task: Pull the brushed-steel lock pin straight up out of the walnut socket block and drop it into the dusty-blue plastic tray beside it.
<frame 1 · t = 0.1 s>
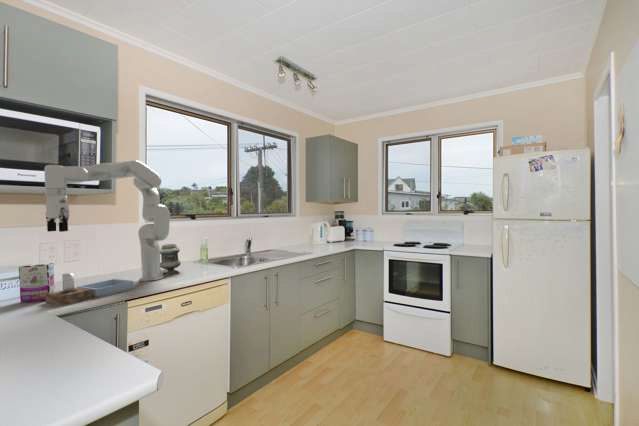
hand: (57, 231, 144), 31 cm above the counter, tool pointing down, fingers open, 9 cm apart
lock pin: (68, 287, 143), in the socket block
stone urn: (170, 273, 201), on the counter
socket block: (69, 300, 143), on the counter
tray: (106, 291, 158), on the counter
candy bar box: (38, 300, 145), on the counter
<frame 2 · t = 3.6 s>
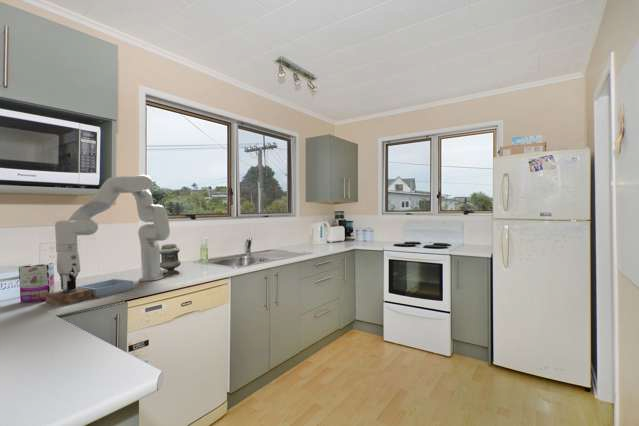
hand: (68, 288, 143), 5 cm above the counter, tool pointing down, fingers closed on lock pin, 4 cm apart
lock pin: (68, 287, 143), in the socket block, touching gripper
everything else where it was.
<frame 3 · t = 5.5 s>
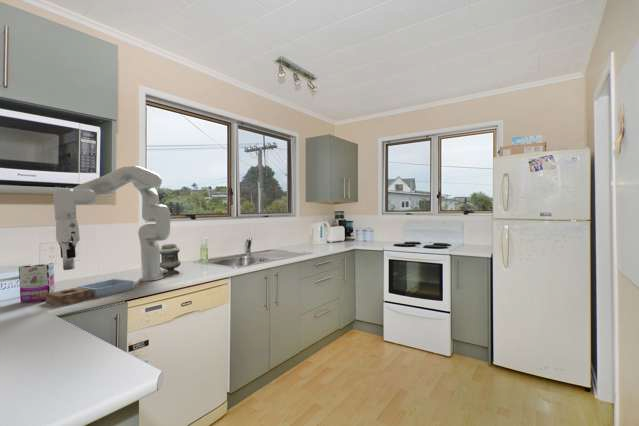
hand: (68, 257, 143), 19 cm above the counter, tool pointing down, fingers closed on lock pin, 4 cm apart
lock pin: (68, 255, 143), point 20 cm above the counter, touching gripper
everything else where it was.
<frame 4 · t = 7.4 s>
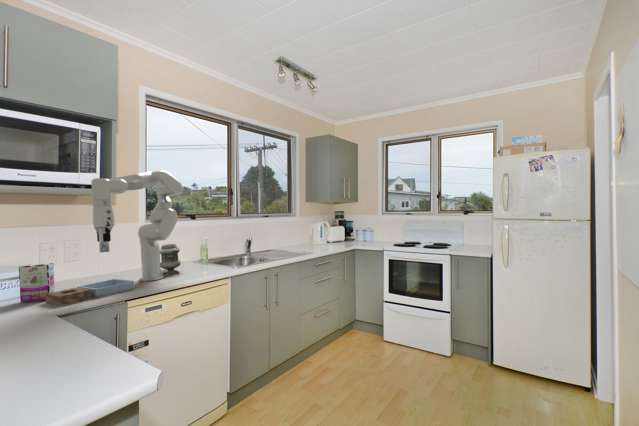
hand: (104, 241, 157), 25 cm above the counter, tool pointing down, fingers closed on lock pin, 4 cm apart
lock pin: (103, 239, 157), point 26 cm above the counter, touching gripper
everything else where it was.
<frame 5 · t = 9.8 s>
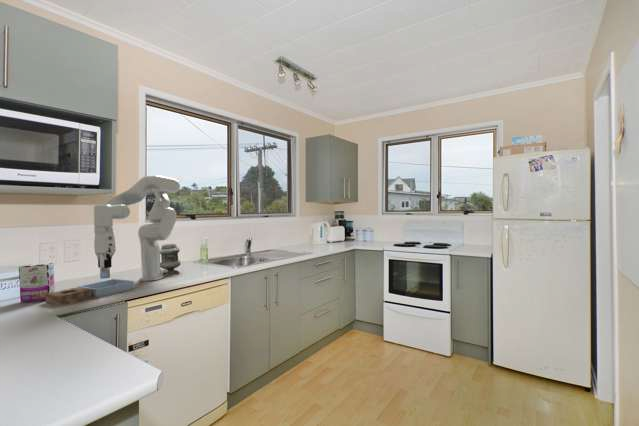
hand: (104, 267, 157), 12 cm above the counter, tool pointing down, fingers closed on lock pin, 4 cm apart
lock pin: (104, 265, 157), point 13 cm above the counter, touching gripper
everything else where it was.
when the fingers open (8 cm above the counter, at t = 11.5 s): lock pin drops 1 cm, resting on tray.
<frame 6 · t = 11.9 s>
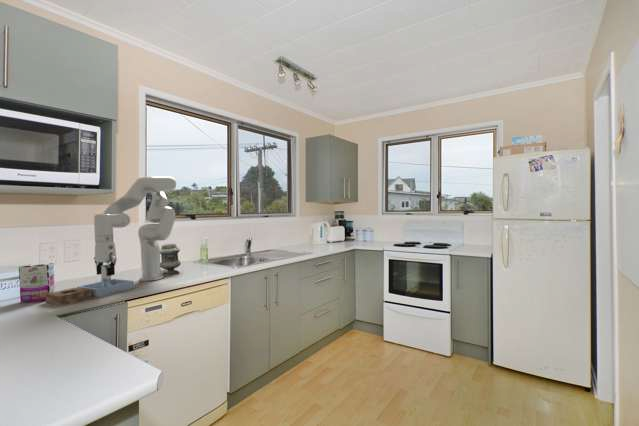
hand: (105, 274, 157), 8 cm above the counter, tool pointing down, fingers open, 8 cm apart
lock pin: (106, 277, 158), in the tray, point 7 cm above the counter
everything else where it was.
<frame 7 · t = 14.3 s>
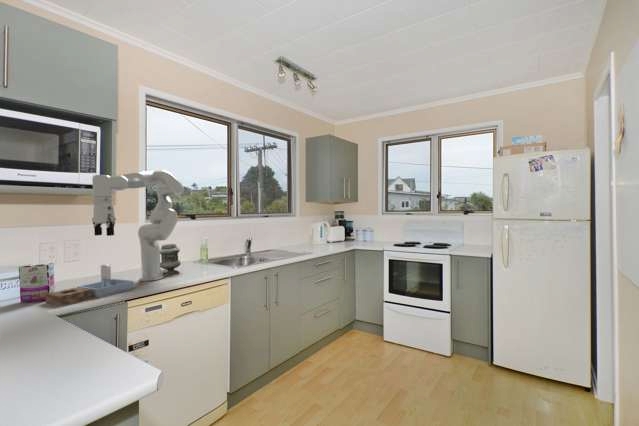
hand: (104, 235, 157), 28 cm above the counter, tool pointing down, fingers open, 9 cm apart
nothing on the counter moved.
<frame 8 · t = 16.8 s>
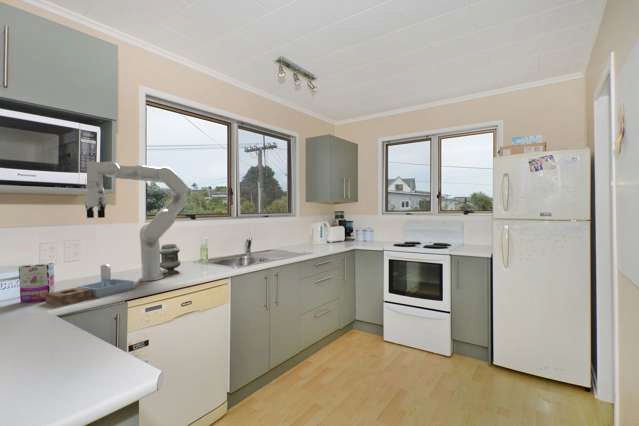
hand: (95, 217, 170), 36 cm above the counter, tool pointing down, fingers open, 9 cm apart
nothing on the counter moved.
at the end: lock pin inside the target area on the tray (0.1 cm from its centre), point 7.0 cm above the tray's base; the gripper is holding nothing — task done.
